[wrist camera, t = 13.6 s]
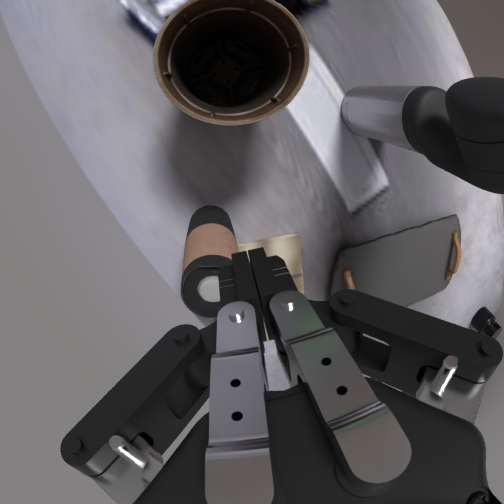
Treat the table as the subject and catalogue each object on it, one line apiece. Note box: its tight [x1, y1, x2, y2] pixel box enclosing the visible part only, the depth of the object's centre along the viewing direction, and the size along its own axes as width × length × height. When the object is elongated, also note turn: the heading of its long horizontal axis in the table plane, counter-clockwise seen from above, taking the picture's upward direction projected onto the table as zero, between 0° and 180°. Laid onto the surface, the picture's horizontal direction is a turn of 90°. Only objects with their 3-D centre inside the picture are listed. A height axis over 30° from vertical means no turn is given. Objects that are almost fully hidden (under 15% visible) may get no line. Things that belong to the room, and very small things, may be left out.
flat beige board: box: [237, 233, 304, 341], centre depth 57 cm, size 15×24×2 cm, turn 9°
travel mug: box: [181, 206, 239, 318], centre depth 41 cm, size 8×8×20 cm
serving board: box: [329, 214, 461, 307], centre depth 59 cm, size 39×23×6 cm, turn 103°
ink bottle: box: [472, 307, 502, 339], centre depth 76 cm, size 10×9×12 cm
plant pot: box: [153, 0, 309, 126], centre depth 30 cm, size 16×16×16 cm
